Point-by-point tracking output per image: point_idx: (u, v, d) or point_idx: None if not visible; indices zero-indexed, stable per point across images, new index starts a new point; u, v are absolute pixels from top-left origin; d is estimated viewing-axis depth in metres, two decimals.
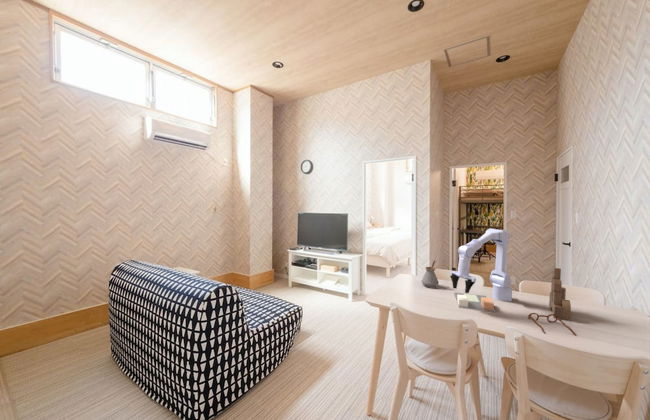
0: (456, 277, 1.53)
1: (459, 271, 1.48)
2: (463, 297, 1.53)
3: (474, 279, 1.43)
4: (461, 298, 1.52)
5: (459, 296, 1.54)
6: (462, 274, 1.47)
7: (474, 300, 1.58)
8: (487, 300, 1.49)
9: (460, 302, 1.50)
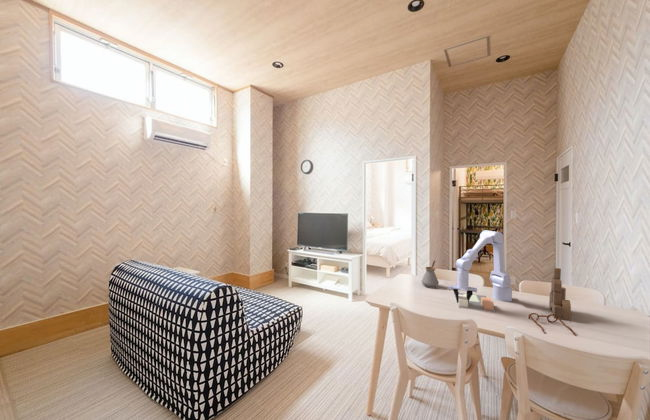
0: None
1: (462, 285, 1.50)
2: (463, 297, 1.53)
3: (476, 289, 1.50)
4: (461, 298, 1.52)
5: (459, 296, 1.54)
6: (466, 288, 1.50)
7: (474, 300, 1.58)
8: (487, 300, 1.49)
9: (460, 302, 1.50)
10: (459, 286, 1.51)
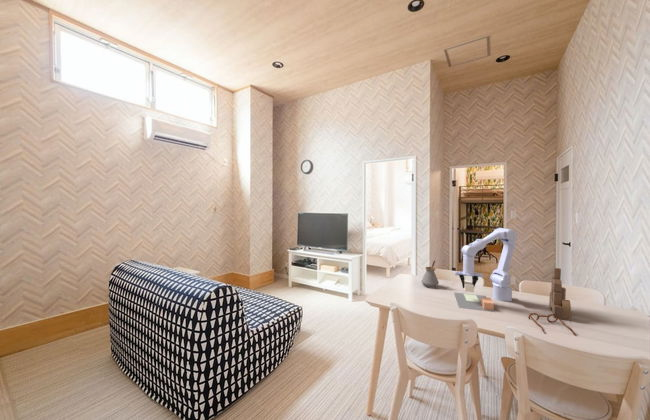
0: (463, 277, 1.58)
1: (468, 271, 1.54)
2: (469, 283, 1.57)
3: None
4: (467, 283, 1.56)
5: (465, 282, 1.59)
6: (472, 273, 1.54)
7: (474, 300, 1.58)
8: (487, 300, 1.49)
9: (466, 287, 1.54)
10: (465, 272, 1.56)
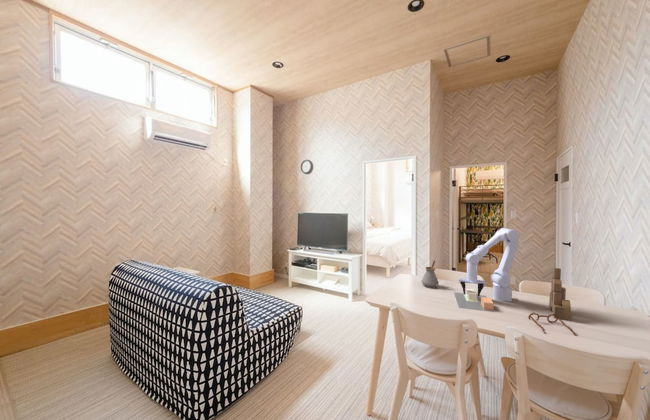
0: (464, 283, 1.63)
1: (472, 278, 1.59)
2: (472, 291, 1.61)
3: (485, 282, 1.58)
4: (470, 292, 1.60)
5: (468, 290, 1.63)
6: (475, 280, 1.58)
7: None
8: (487, 300, 1.49)
9: (469, 296, 1.58)
10: (468, 279, 1.60)
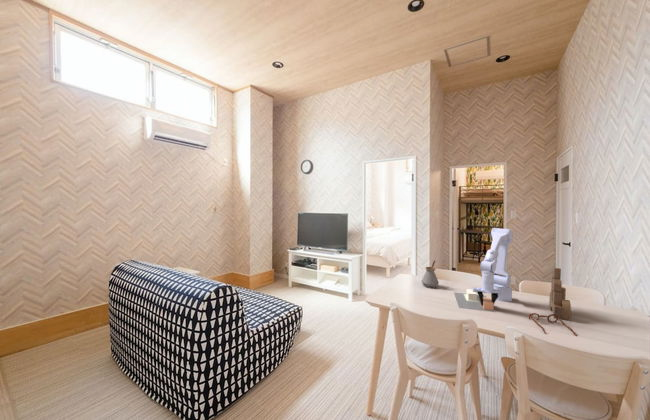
0: None
1: (488, 288, 1.46)
2: (472, 291, 1.61)
3: (502, 292, 1.46)
4: (470, 292, 1.60)
5: (468, 290, 1.63)
6: (491, 290, 1.46)
7: None
8: (487, 300, 1.49)
9: (469, 296, 1.58)
10: (484, 288, 1.47)
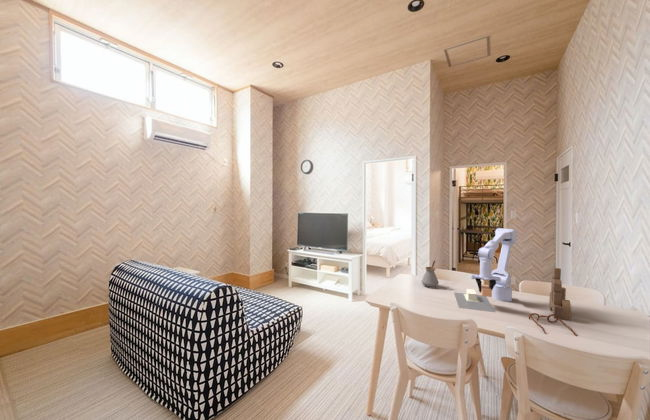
0: None
1: (486, 274, 1.47)
2: (472, 291, 1.61)
3: None
4: (470, 292, 1.60)
5: (468, 290, 1.63)
6: (489, 277, 1.47)
7: None
8: (485, 287, 1.50)
9: (469, 296, 1.58)
10: (482, 275, 1.48)
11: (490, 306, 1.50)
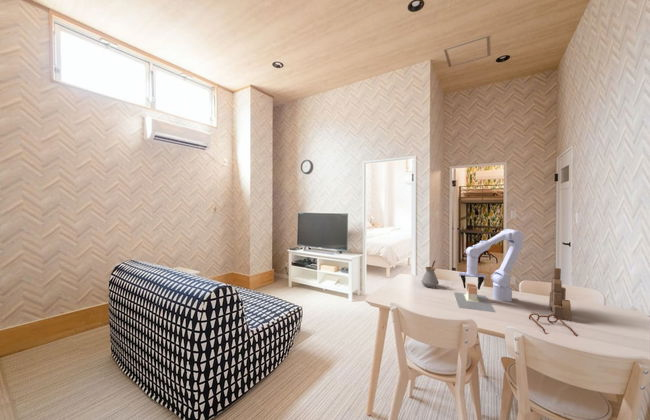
0: None
1: (472, 272, 1.58)
2: None
3: (485, 275, 1.58)
4: None
5: None
6: (475, 274, 1.58)
7: None
8: (472, 285, 1.61)
9: (469, 296, 1.58)
10: (468, 273, 1.60)
11: (490, 306, 1.50)
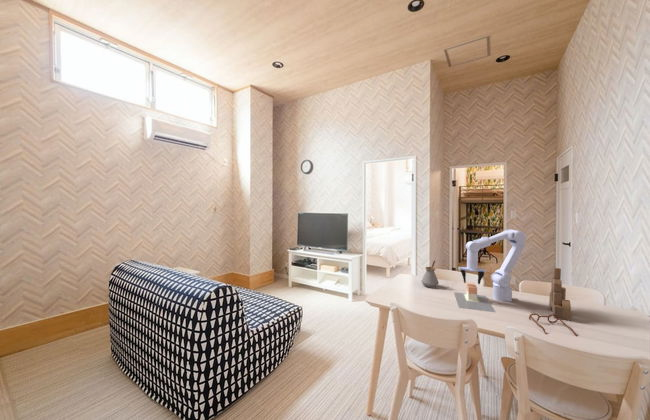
0: (465, 272, 1.62)
1: (472, 266, 1.58)
2: None
3: (485, 270, 1.58)
4: None
5: None
6: (475, 268, 1.58)
7: None
8: (472, 285, 1.61)
9: (469, 296, 1.58)
10: (469, 267, 1.59)
11: (490, 306, 1.50)
